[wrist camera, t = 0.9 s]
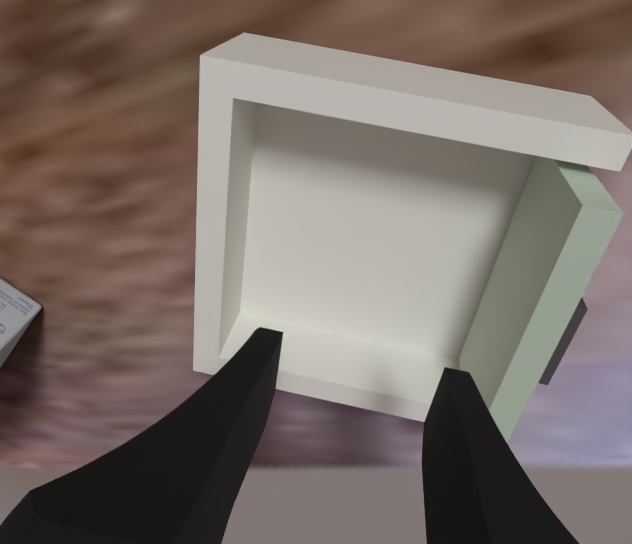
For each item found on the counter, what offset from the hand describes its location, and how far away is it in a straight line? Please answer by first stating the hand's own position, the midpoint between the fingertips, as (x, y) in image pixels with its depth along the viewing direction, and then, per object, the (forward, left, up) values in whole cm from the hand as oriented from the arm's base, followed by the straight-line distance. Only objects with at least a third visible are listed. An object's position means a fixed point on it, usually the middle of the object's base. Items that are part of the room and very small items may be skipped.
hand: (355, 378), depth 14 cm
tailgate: (-5, -2, -8) cm, 9 cm away
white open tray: (0, 0, -9) cm, 9 cm away
